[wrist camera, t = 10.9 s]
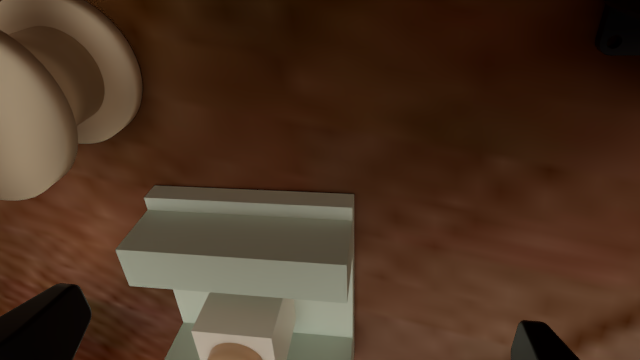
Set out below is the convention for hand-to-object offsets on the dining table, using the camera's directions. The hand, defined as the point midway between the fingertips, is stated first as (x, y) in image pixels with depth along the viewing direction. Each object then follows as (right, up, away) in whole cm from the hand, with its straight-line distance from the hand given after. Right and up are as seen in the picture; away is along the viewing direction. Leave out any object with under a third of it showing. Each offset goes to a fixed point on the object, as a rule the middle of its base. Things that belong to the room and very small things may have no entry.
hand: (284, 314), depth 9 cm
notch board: (-3, -3, +17) cm, 18 cm away
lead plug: (-3, -4, +16) cm, 17 cm away
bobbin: (-11, +8, +12) cm, 18 cm away
